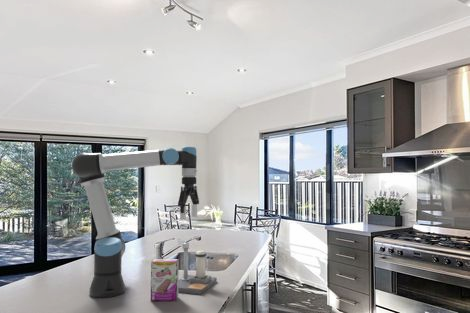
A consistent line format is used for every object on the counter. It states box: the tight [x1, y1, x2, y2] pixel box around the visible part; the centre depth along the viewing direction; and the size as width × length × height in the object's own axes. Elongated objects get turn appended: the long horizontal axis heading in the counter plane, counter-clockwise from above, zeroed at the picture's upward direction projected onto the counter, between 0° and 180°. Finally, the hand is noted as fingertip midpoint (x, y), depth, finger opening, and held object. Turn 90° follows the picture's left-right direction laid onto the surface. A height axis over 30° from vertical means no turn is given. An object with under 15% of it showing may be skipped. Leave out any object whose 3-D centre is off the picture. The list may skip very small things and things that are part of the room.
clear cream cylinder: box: [194, 250, 207, 279], centre depth 169 cm, size 5×5×14 cm
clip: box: [177, 238, 190, 250], centre depth 178 cm, size 3×15×2 cm, turn 23°
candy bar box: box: [150, 258, 180, 302], centre depth 151 cm, size 11×5×16 cm, turn 92°
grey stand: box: [178, 249, 218, 295], centre depth 168 cm, size 20×16×17 cm
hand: (188, 218), depth 182 cm, fingers open, 13 cm apart
